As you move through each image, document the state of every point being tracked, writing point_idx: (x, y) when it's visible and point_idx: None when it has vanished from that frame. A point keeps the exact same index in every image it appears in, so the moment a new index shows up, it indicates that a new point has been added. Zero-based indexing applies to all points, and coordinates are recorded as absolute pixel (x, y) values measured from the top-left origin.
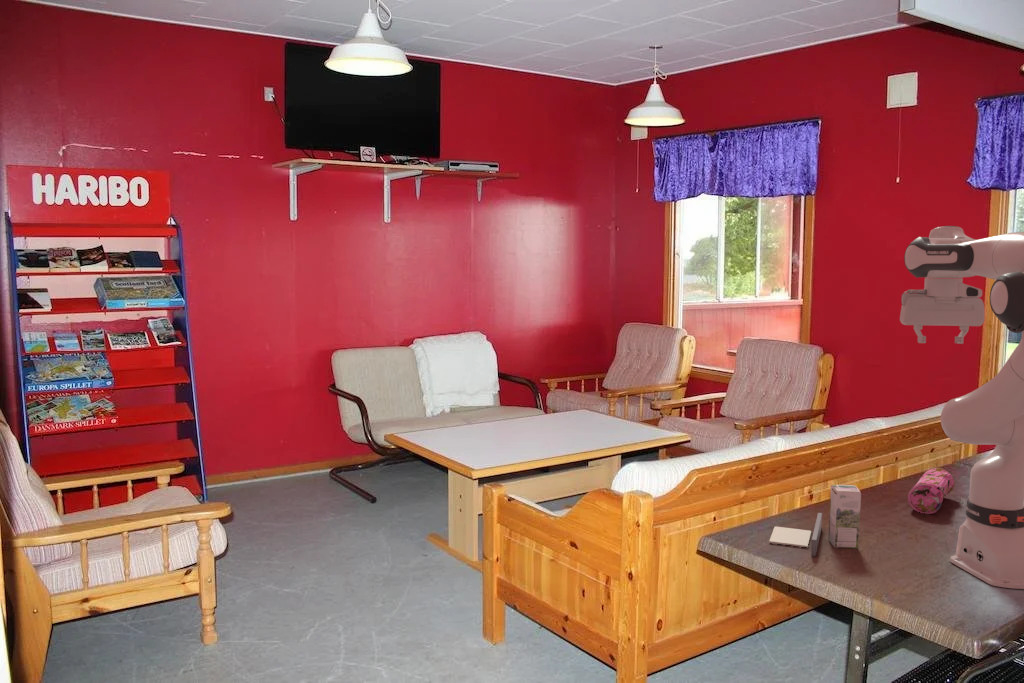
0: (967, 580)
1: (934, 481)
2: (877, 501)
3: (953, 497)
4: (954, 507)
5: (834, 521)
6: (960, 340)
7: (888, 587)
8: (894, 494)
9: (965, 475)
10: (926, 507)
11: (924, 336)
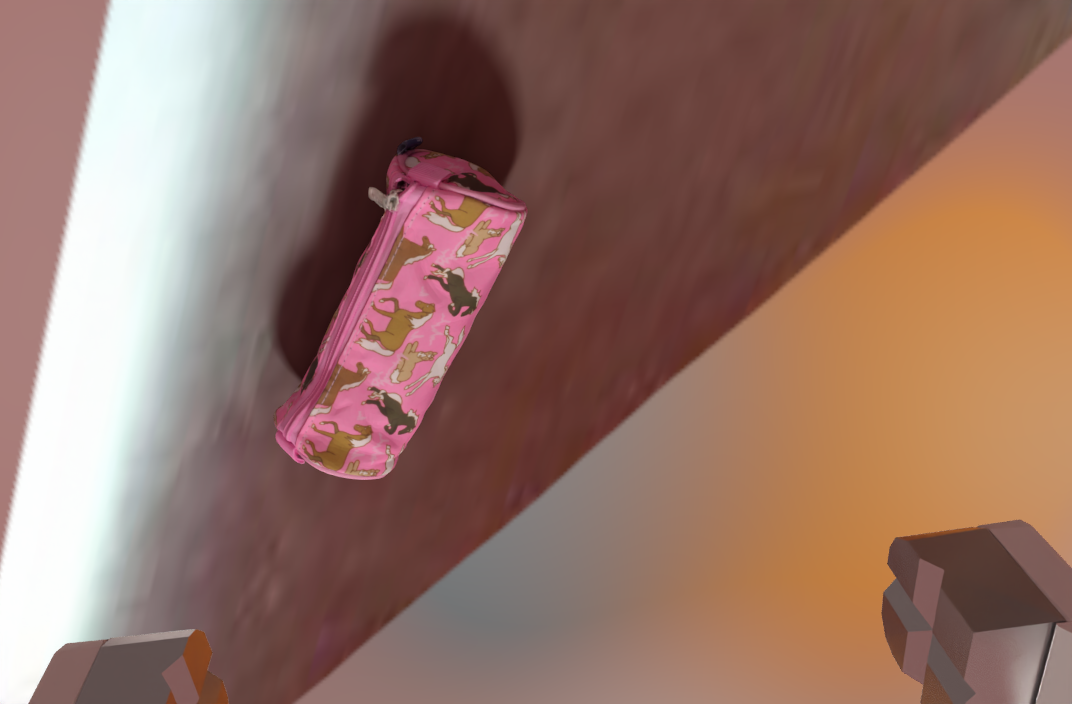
0: None
1: (399, 283)
2: (604, 303)
3: None
4: (309, 271)
5: None
6: (112, 677)
7: None
8: (508, 407)
9: None
10: (457, 158)
11: (1015, 625)
